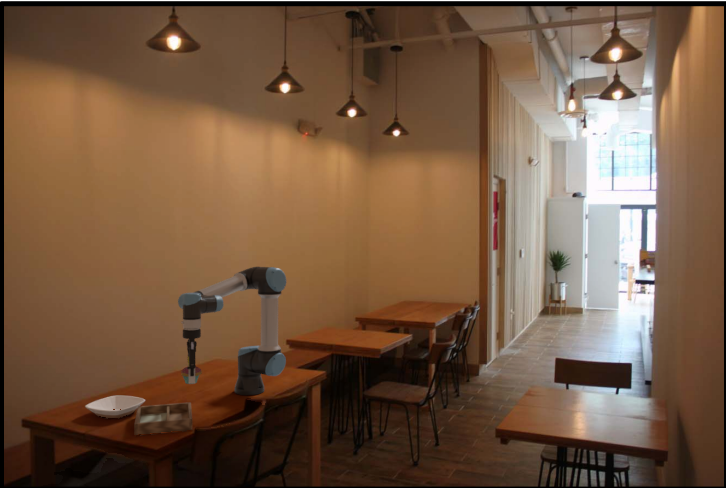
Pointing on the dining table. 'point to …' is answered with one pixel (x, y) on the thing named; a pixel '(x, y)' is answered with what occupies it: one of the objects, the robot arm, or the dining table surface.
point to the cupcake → (186, 373)
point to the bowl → (115, 406)
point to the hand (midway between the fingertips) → (191, 380)
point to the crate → (163, 418)
